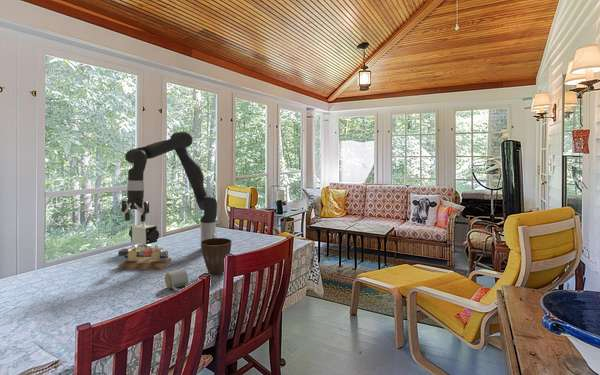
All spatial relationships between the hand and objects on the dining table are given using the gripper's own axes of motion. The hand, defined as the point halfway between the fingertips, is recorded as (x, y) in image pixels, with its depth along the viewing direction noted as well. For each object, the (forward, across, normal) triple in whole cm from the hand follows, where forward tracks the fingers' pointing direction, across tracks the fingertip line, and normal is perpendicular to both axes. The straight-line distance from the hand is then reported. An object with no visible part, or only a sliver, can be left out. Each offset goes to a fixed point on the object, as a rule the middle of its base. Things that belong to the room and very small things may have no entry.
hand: (135, 221), depth 172 cm
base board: (+25, -2, -7) cm, 26 cm away
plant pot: (+24, -43, -4) cm, 49 cm away
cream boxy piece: (+24, +15, -29) cm, 41 cm away
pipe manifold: (+23, -2, -7) cm, 24 cm away
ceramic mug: (+25, -35, +17) cm, 46 cm away
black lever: (+16, +3, +1) cm, 16 cm away
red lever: (+16, -9, -2) cm, 18 cm away
